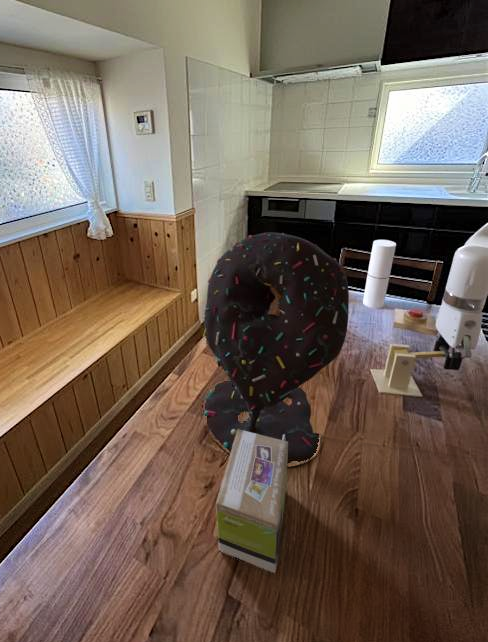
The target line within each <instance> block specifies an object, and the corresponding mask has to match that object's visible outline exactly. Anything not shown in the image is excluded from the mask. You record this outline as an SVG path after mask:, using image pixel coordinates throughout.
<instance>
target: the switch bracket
mask: <svg viewBox="0 0 488 642" xmlns="http://www.w3.org/2000/svg"><path fill="white" fill-rule="evenodd" d="M402 349H406V350H407V352H408V353H410V350H411V346H410V345H409V344H399V343H390V344H389V349H388V352H387V356H386V357H387V358H386V362H385V366H384V369H379V368H377V369H376V368H370V373H371V375H372V378H373V380H374V383H375V385H376V388H377V390H378V393H379V394H386V395H395V396H396V395H397V396H406V397H408V396H409V397H415V398H417V397H418V398H423V393H421V391H420V388H419V387H418V385H417V384H416V381H415V379H414V377H413V376H412V374H413V370H414V367H415V364H416V360H417V358H416V356H415V355H411V354H398V353H396V354H395V358H394V350H402Z"/></svg>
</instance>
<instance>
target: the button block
mask: <svg viewBox="0 0 488 642" xmlns="http://www.w3.org/2000/svg"><path fill="white" fill-rule="evenodd" d="M410 309H411V308H409V309H401V308H396V307H395V308H394V310H393V318H392V319H393V320H392V328H393V329H394V328H395V329H400V330H405V331H408V332H409V331H410V332H414V333H419V334H423V335H429V336H433V337H436V335H437V328H436V315H434V314H429V313H425V312H424V311H423V314H422V317H420V318H417V317H413V316H411V315H410V314H409V313H410Z"/></svg>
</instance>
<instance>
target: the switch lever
mask: <svg viewBox="0 0 488 642" xmlns="http://www.w3.org/2000/svg"><path fill="white" fill-rule="evenodd" d="M439 350H440V351H434V352H433V351H416V352H415V351H413V352H409V353H408V352H407V350H406V349H402V350H394V358H395V354H396V353H398V354H411V355H415V356H416V359H425V358H427V359H429V358H445V359H446V356H447V355H449V351H448V350H447V349H446V347H445V346H440V347H439Z"/></svg>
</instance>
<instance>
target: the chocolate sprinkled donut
mask: <svg viewBox="0 0 488 642" xmlns="http://www.w3.org/2000/svg"><path fill="white" fill-rule="evenodd" d="M349 291H350V290H349V283H348V278H347V275H346V272H345V271H344V269H343V267H342V265H341V264H340V263H339V262H338V261H337V258H335V257H334V258H333V257H331V256H330V255H329V254H328V253H326V251H324V250H323V249H321V248H320V247H319V246H318V245H317V244H316V243H313V242H311V241H309V240H307V239H305V238H302V237H299V236H295V235H291V234H288V233H284V232H282V233H281V232H273V231H272V232H263V233H259V234H255V235H252V234H249V235H248V236H247V237H245V238H243V239H241V240H240V241H238V242H237V241H236V242H235V244H234V245H232V246H229V248H228V250H226V251H225V252H223V254H222V255H221V256H220V257H219V258H218V259H217V261H216V264H215V266H214V268H213V270H212V272H211V275H210V278H208V280H207V291H206V303H205V308H204V313H203V314H204V315H203V316H202V317H203V322H204V331H203V333H202V337H203V338H205V344H206V345H207V346H208V347H209V349H210V351H211V354H213V355H214V359H215V360H217V366H218V367H221V368H222V370H223V371H224V373H225V374H226V376H227V378H228V379H230V380H231V381H224V382H222V383H219V384H217V385H216V386H215V390H214V391H213V390H212V389H211V390H210V392H211V393H210V394H208V395H207V396H206V397H205V398H206V403H205V410H203V414H204V415H205V416H207V424H208V426H209V429H211V432H212V433H213V435H214V436H215V438H216V439H217V440H219V442H220V443H221V444H222V445H224V447H225V448H227V449H228V450H229V451H230V452H231V450H232V446H233V443H234V440H235V437H236V433H237V430H238V429H240V430H244V431H247V432H251V433H255V434H259V435H263V436H267V437H271V438H275V439H279V440H283V441H288V459H287V464H288V463H290V462H292V461H298V462H300V461H304V460H305V461H306V460H307V459H310V458H311V457H312V456H313V455H314V453H316V451H317V450H316V449H317V447H318V444H317V443H318V442H319V439H318V438H319V434H320V433H317V432H314V429H313V425H312V424H311V411H312V409H311V405H310V402H309V400H308V398H307V393H306V392H305V390H303V388H301V386H302V385H303V384H305V383H307V382H308V381H310V380H312V379H313V378H314V377H315V376H316V375H317V374H318V373H319V372H321V371H322V369H324V368H325V367H327V366H328V365H330V363H332V362H333V361H334V360H335V359H336V358H337V357H338V356H339V355H340V353H341V351H342V348H343V346H344V344H345V341H346V337H347V333H348V325H349V314H350V311H349V307H350V306H349V303H350V299H349V296H350V293H349ZM273 302H275V303H274V314H273V313H269V311H270V309H271V305H272V304H273ZM286 399H290V400H291V403H290V404H288V403H286V402H285V401H284V400H286ZM244 411H245V412H246V411H247V412H249V416H250V417H249V418H248V419H247V420H246V419H245V418H244V417H243V419H244V420H245V421H243V423H240V422H239V421H238V415H240V413H241V412H244Z"/></svg>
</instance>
